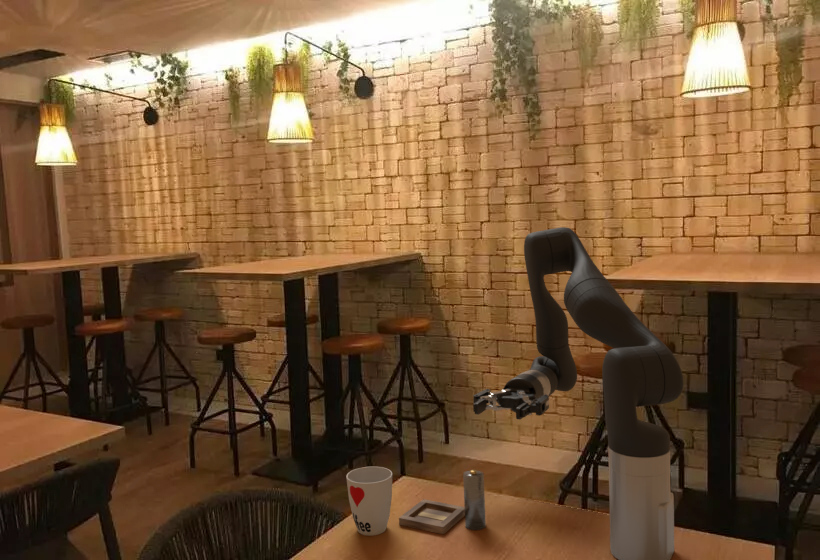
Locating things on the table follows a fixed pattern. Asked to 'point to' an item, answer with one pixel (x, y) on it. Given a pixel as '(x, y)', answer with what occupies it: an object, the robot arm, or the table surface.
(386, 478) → the cup
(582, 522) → the table surface
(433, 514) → the bay
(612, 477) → the robot arm
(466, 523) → the cell
